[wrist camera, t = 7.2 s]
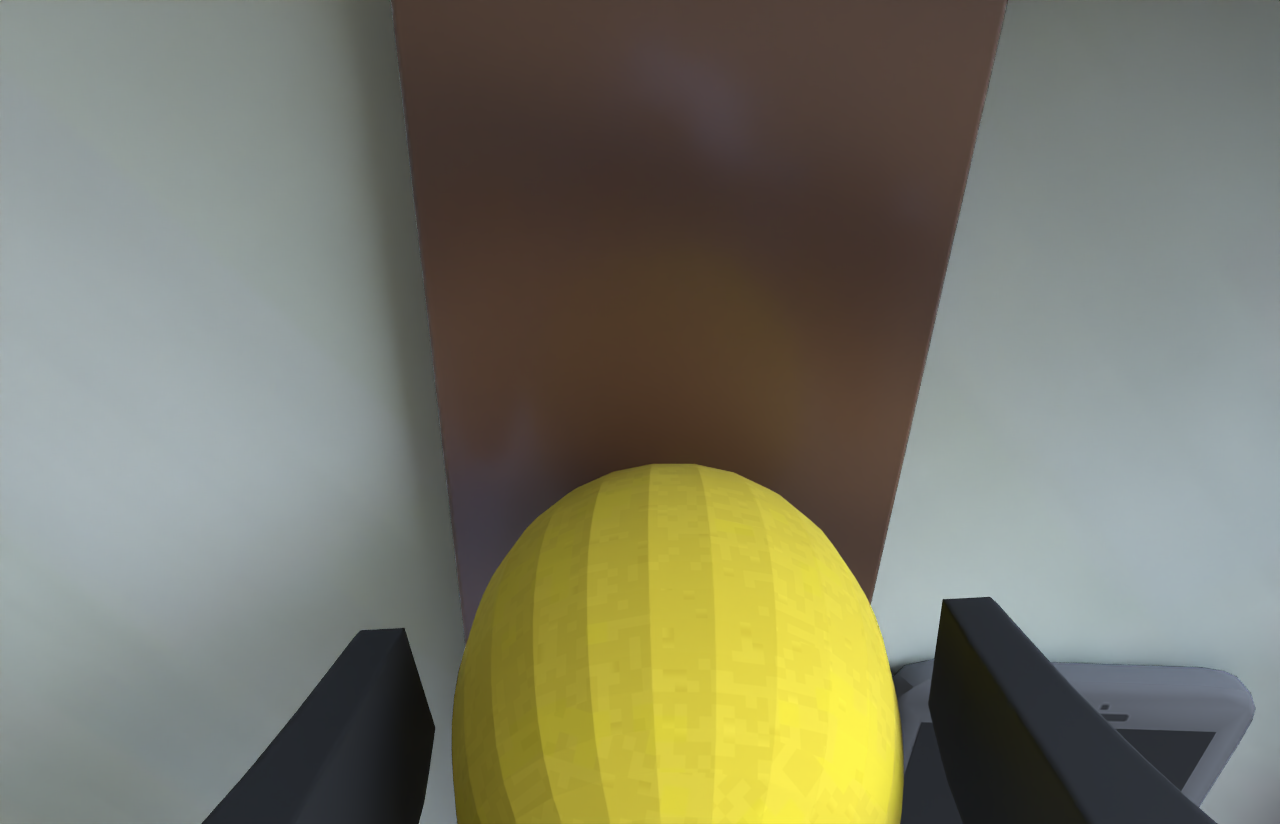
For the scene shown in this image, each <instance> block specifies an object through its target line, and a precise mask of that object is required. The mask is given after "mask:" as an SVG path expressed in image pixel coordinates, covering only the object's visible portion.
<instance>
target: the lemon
mask: <svg viewBox="0 0 1280 824" xmlns="http://www.w3.org/2000/svg"><path fill="white" fill-rule="evenodd" d="M452 765H453V782H454V793H455V805H456V816H457V824H900V821H901V814H902V800H903V786H904V754H903V740H902V726H901V720H900V713H899V706H898V700H897V695H896V691H895V687H894V683H893V678H892V674H891V670H890V666H889V662H888V658H887V654H886V649H885V645H884V641H883V637H882V635H881V632H880V629H879V626H878V623H877V620H876V617H875V615H874V612H873V610H872V608H871V606H870V604H869V602H868V599H867V597H866V595H865V594H864V592H863V590H862V588H861V587H860V585H859V583H858V582H857V580H856V578H855V577H854V575H853V574H852V572H851V571H850V569H849V568H848V566H847V565H846V563H845V562H844V560H843V559H842V557H841V556H840V554H839V553H838V552H837V550H836V549H835V547H834V546H833V544H832V543H831V542H830V540H829V539H828V538H827V536H826V535H825V534H824V533H823V531H822V530H821V529H820V528H818V527H817V526H816V525H815V524H814V523H813V522H812V521H811V520H810V519H808V518H807V517H806V516H805V515H804V514H802V513H801V512H800V511H799V510H797V509H796V508H795V507H794V506H793V505H791V504H790V503H789V502H788V501H786V500H785V499H784V498H783V497H782V496H780V495H779V494H777V493H775V492H773V491H771V490H770V489H768V488H766V487H763V486H761V485H759V484H757V483H755V482H753V481H751V480H749V479H746V478H744V477H742V476H740V475H738V474H736V473H734V472H729V471H725V470H720V469H715V468H711V467H706V466H702V465H697V464H649V465H644V466H639V467H634V468H629V469H624V470H619V471H614V472H611V473H609V474H607V475H605V476H602V477H600V478H598V479H596V480H593V481H591V482H589V483H587V484H584V485H582V486H580V487H578V488H576V489H574V490H573V491H571V492H570V493H568V494H567V495H565V496H564V497H563V498H562V499H560V500H559V501H558V502H556V503H555V504H554V505H553V506H551V507H550V508H549V509H547V510H546V511H545V512H544V513H542V514H541V515H540V516H538V517H537V518H536V519H535V520H534V521H533V522H532V523H531V524H530V525H529V526H528V527H527V528H526V530H525V531H524V532H523V534H522V535H521V536H520V538H519V539H518V540H517V542H516V543H515V545H514V546H513V547H512V549H511V550H510V551H509V553H508V554H507V555H506V557H505V558H504V559H503V561H502V562H501V564H500V565H499V567H498V568H497V570H496V571H495V573H494V574H493V576H492V578H491V580H490V582H489V584H488V586H487V588H486V590H485V592H484V594H483V596H482V599H481V601H480V604H479V607H478V609H477V612H476V615H475V618H474V621H473V624H472V627H471V631H470V634H469V637H468V640H467V643H466V647H465V650H464V653H463V657H462V661H461V665H460V668H459V672H458V677H457V683H456V689H455V695H454V704H453V716H452Z"/></svg>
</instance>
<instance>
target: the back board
mask: <svg viewBox="0 0 1280 824" xmlns="http://www.w3.org/2000/svg"><path fill="white" fill-rule="evenodd" d="M1007 3H1008V0H391V8H392V17H393V25H394V34H395V42H396V51H397V60H398V68H399V77H400V86H401V94H402V103H403V112H404V120H405V129H406V137H407V146H408V155H409V163H410V172H411V181H412V189H413V198H414V207H415V215H416V224H417V233H418V241H419V250H420V258H421V267H422V276H423V284H424V293H425V302H426V310H427V319H428V328H429V336H430V345H431V353H432V362H433V371H434V379H435V388H436V397H437V405H438V414H439V423H440V431H441V440H442V448H443V457H444V466H445V474H446V483H447V492H448V500H449V509H450V518H451V526H452V535H453V544H454V552H455V561H456V569H457V578H458V587H459V595H460V604H461V613H462V621H463V630H464V639H465V647H466V643H467V640H468V637H469V634H470V631H471V627H472V624H473V621H474V618H475V615H476V612H477V609H478V607H479V604H480V601H481V599H482V596H483V594H484V592H485V590H486V588H487V586H488V584H489V582H490V580H491V578H492V576H493V574H494V573H495V571H496V570H497V568H498V567H499V565H500V564H501V562H502V561H503V559H504V558H505V557H506V555H507V554H508V553H509V551H510V550H511V549H512V547H513V546H514V545H515V543H516V542H517V540H518V539H519V538H520V536H521V535H522V534H523V532H524V531H525V530H526V528H527V527H528V526H529V525H530V524H531V523H532V522H533V521H534V520H535V519H536V518H537V517H538V516H540V515H541V514H542V513H544V512H545V511H546V510H547V509H549V508H550V507H551V506H553V505H554V504H555V503H556V502H558V501H559V500H560V499H562V498H563V497H564V496H565V495H567V494H568V493H570V492H571V491H573V490H574V489H576V488H578V487H580V486H582V485H584V484H587V483H589V482H591V481H593V480H596V479H598V478H600V477H602V476H605V475H607V474H609V473H611V472H614V471H619V470H624V469H629V468H634V467H639V466H644V465H649V464H697V465H702V466H706V467H711V468H715V469H720V470H725V471H729V472H734V473H736V474H738V475H740V476H742V477H744V478H746V479H749V480H751V481H753V482H755V483H757V484H759V485H761V486H763V487H766V488H768V489H770V490H771V491H773V492H775V493H777V494H779V495H780V496H782V497H783V498H784V499H785V500H786V501H788V502H789V503H790V504H791V505H793V506H794V507H795V508H796V509H797V510H799V511H800V512H801V513H802V514H804V515H805V516H806V517H807V518H808V519H810V520H811V521H812V522H813V523H814V524H815V525H816V526H817V527H818V528H820V529H821V530H822V531H823V533H824V534H825V535H826V536H827V538H828V539H829V540H830V542H831V543H832V544H833V546H834V547H835V549H836V550H837V552H838V553H839V554H840V556H841V557H842V559H843V560H844V562H845V563H846V565H847V566H848V568H849V569H850V571H851V572H852V574H853V575H854V577H855V578H856V580H857V582H858V583H859V585H860V587H861V588H862V590H863V592H864V594H865V595H866V597H867V599H868V602H869V604H870V605H871V601H872V596H873V592H874V588H875V583H876V579H877V574H878V570H879V566H880V561H881V557H882V552H883V548H884V544H885V539H886V535H887V530H888V526H889V522H890V517H891V513H892V508H893V504H894V500H895V495H896V491H897V486H898V482H899V478H900V473H901V469H902V464H903V460H904V456H905V451H906V447H907V442H908V438H909V434H910V429H911V425H912V420H913V416H914V412H915V407H916V403H917V398H918V394H919V390H920V385H921V381H922V376H923V372H924V368H925V363H926V359H927V354H928V350H929V346H930V341H931V337H932V332H933V328H934V324H935V319H936V315H937V310H938V306H939V302H940V297H941V293H942V289H943V284H944V280H945V275H946V271H947V267H948V262H949V258H950V253H951V249H952V245H953V240H954V236H955V231H956V227H957V223H958V218H959V214H960V209H961V205H962V201H963V196H964V192H965V187H966V183H967V179H968V174H969V170H970V165H971V161H972V157H973V152H974V148H975V143H976V139H977V135H978V130H979V126H980V121H981V117H982V113H983V108H984V104H985V99H986V95H987V91H988V86H989V82H990V77H991V73H992V69H993V64H994V60H995V55H996V51H997V47H998V42H999V38H1000V33H1001V29H1002V25H1003V20H1004V16H1005V11H1006V7H1007Z"/></svg>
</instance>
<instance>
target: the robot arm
mask: <svg viewBox="0 0 1280 824" xmlns="http://www.w3.org/2000/svg"><path fill="white" fill-rule="evenodd" d="M928 706H929V711H930V715H931V719H932V723H933V727H934V731H935V735H936V740H937V744H938V748H939V751H940V755H941V759H942V763H943V767H944V771H945V774H946V778H947V781H948V784H949V787H950V790H951V792H952V795H953V798H954V801H955V803H956V806H957V809H958V811H959V814H960V817H961V819H962V822H963V824H1217V823H1216V822H1215V821H1214V820H1212V819H1211V818H1210V817H1209V816H1208V815H1207V814H1206V813H1204V812H1203V811H1202V810H1201V809H1200V808H1199V807H1198V806H1196V805H1195V804H1194V803H1193V802H1192V801H1191V800H1190V799H1189V798H1187V797H1186V796H1185V795H1184V794H1183V793H1182V792H1181V791H1180V790H1179V789H1178V788H1177V787H1175V786H1174V785H1173V784H1172V783H1171V782H1170V781H1169V780H1168V779H1167V778H1166V777H1165V776H1164V775H1162V774H1161V773H1160V772H1159V771H1158V770H1157V769H1156V768H1155V767H1154V766H1153V765H1152V764H1151V763H1149V762H1148V761H1147V760H1146V759H1145V758H1144V757H1143V756H1142V755H1141V754H1140V753H1139V752H1138V751H1137V750H1136V749H1135V748H1134V747H1133V746H1132V745H1131V744H1130V743H1129V742H1128V741H1127V740H1126V739H1125V738H1124V737H1123V736H1122V735H1121V734H1120V733H1119V732H1118V731H1117V730H1116V729H1115V728H1114V727H1113V726H1112V725H1111V724H1110V723H1109V722H1108V721H1107V720H1106V719H1105V718H1104V717H1103V716H1102V715H1101V714H1100V713H1099V712H1098V711H1097V710H1096V709H1095V708H1094V707H1093V706H1092V705H1091V704H1090V703H1089V702H1088V701H1087V700H1086V699H1085V698H1084V697H1083V696H1082V695H1081V694H1080V693H1079V692H1078V691H1077V690H1076V689H1075V688H1074V687H1073V686H1072V685H1071V684H1070V683H1069V682H1068V680H1067V679H1066V678H1065V677H1064V676H1063V675H1062V674H1061V673H1060V672H1059V671H1058V670H1057V669H1056V668H1055V667H1054V665H1053V664H1052V663H1051V662H1050V661H1049V660H1048V659H1047V658H1046V657H1045V656H1044V655H1043V654H1042V653H1041V651H1040V650H1039V649H1038V648H1037V647H1036V646H1035V645H1034V644H1033V643H1032V642H1031V640H1030V639H1029V638H1028V637H1027V636H1026V635H1025V634H1024V633H1023V632H1022V630H1021V629H1020V628H1019V627H1018V626H1017V625H1016V624H1015V623H1014V622H1013V620H1012V619H1011V618H1010V617H1009V616H1008V615H1007V614H1006V613H1005V612H1004V610H1003V609H1002V608H1001V607H1000V606H999V605H998V604H997V603H996V602H995V601H994V600H993V599H992V598H991V597H980V598H961V599H943V602H942V609H941V616H940V623H939V630H938V637H937V644H936V651H935V658H934V665H933V672H932V679H931V686H930V694H929V701H928ZM434 733H435V725H434V722H433V719H432V715H431V712H430V709H429V706H428V702H427V699H426V696H425V693H424V690H423V686H422V683H421V680H420V677H419V673H418V670H417V667H416V664H415V661H414V657H413V654H412V651H411V648H410V644H409V641H408V638H407V635H406V632H405V628H396V629H377V630H360V632H359V633H358V634H357V635H356V636H355V637H354V638H353V639H352V641H351V642H350V643H349V644H348V646H347V647H346V648H345V650H344V651H343V652H342V653H341V655H340V656H339V657H338V659H337V660H336V661H335V663H334V664H333V665H332V666H331V668H330V669H329V670H328V672H327V673H326V674H325V675H324V677H323V678H322V679H321V681H320V682H319V683H318V685H317V686H316V687H315V688H314V690H313V691H312V692H311V694H310V695H309V696H308V697H307V699H306V700H305V701H304V702H303V704H302V705H301V706H300V708H299V709H298V710H297V711H296V713H295V714H294V715H293V716H292V718H291V719H290V720H289V721H288V723H287V724H286V725H285V726H284V728H283V729H282V730H281V731H280V732H279V734H278V735H277V736H276V737H275V739H274V740H273V741H272V742H271V743H270V745H269V746H268V747H267V748H266V750H265V751H264V752H263V753H262V754H261V756H260V757H259V758H258V759H257V761H256V762H255V763H254V764H253V765H252V767H251V768H250V769H249V770H248V771H247V773H246V774H245V775H244V776H243V777H242V778H241V780H240V781H239V782H238V783H237V784H236V785H235V786H234V788H233V789H232V790H231V791H230V792H229V793H228V794H227V795H226V797H225V798H224V799H223V800H222V801H221V802H220V803H219V804H218V806H217V807H216V808H215V809H214V810H213V811H212V812H211V813H210V815H209V816H208V817H207V818H206V819H205V820H204V821H203V822H202V824H419V820H420V816H421V813H422V809H423V805H424V800H425V794H426V788H427V781H428V775H429V769H430V762H431V755H432V748H433V741H434Z"/></svg>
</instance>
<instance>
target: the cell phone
mask: <svg viewBox="0 0 1280 824" xmlns="http://www.w3.org/2000/svg"><path fill="white" fill-rule="evenodd" d="M1051 663H1052V664H1053V665H1054V667H1055V668H1056V669H1057V670H1058V671H1059V672H1060V673H1061V674H1062V675H1063V676H1064V677H1065V678H1066V679H1067V680H1068V682H1069V683H1070V684H1071V685H1072V686H1073V687H1074V688H1075V689H1076V690H1077V691H1078V692H1079V693H1080V694H1081V695H1082V696H1083V697H1084V698H1085V699H1086V700H1087V701H1088V702H1089V703H1090V704H1091V705H1092V706H1093V707H1094V708H1095V709H1096V710H1097V711H1098V712H1099V713H1100V714H1101V715H1102V716H1103V717H1104V718H1105V719H1106V720H1107V721H1108V722H1109V723H1110V724H1111V725H1112V726H1113V727H1114V728H1115V729H1116V730H1117V731H1118V732H1119V733H1120V734H1121V735H1122V736H1123V737H1124V738H1125V739H1126V740H1127V741H1128V742H1129V743H1130V744H1131V745H1132V746H1133V747H1134V748H1135V749H1136V750H1137V751H1138V752H1139V753H1140V754H1141V755H1142V756H1143V757H1144V758H1145V759H1146V760H1147V761H1148V762H1149V763H1151V764H1152V765H1153V766H1154V767H1155V768H1156V769H1157V770H1158V771H1159V772H1160V773H1161V774H1162V775H1164V776H1165V777H1166V778H1167V779H1168V780H1169V781H1170V782H1171V783H1172V784H1173V785H1174V786H1175V787H1177V788H1178V789H1179V790H1180V791H1181V792H1182V793H1183V794H1184V795H1185V796H1186V797H1187V798H1189V799H1190V800H1191V801H1192V802H1193V803H1194V804H1195V805H1196V806H1198V807H1200V805H1201V803H1202V802H1203V800H1204V799H1205V797H1206V796H1207V794H1208V792H1209V791H1210V789H1211V788H1212V786H1213V784H1214V783H1215V781H1216V780H1217V778H1218V776H1219V775H1220V773H1221V772H1222V770H1223V768H1224V767H1225V765H1226V764H1227V762H1228V761H1229V759H1230V757H1231V756H1232V754H1233V753H1234V751H1235V749H1236V748H1237V746H1238V744H1239V743H1240V741H1241V739H1242V737H1243V736H1244V734H1245V732H1246V730H1247V729H1248V727H1249V725H1250V723H1251V722H1252V719H1253V716H1254V712H1255V705H1254V702H1253V698H1252V695H1251V693H1250V691H1249V690H1248V689H1247V688H1246V687H1245V686H1244V684H1243V683H1242V682H1241V681H1240V680H1239V679H1238V677H1237V676H1234V675H1232V674H1230V673H1228V672H1225V671H1221V670H1215V669H1209V668H1203V667H1175V666H1146V665H1117V664H1088V663H1058V662H1051ZM933 665H934V659H933V660H928V661H923V662H918V663H913V664H909V665H904V666H903V667H902V668H901V669H900V670H899V671H898V672H897V673H896V674H895V675H894V676H893V677H892V678H893V683H894V687H895V691H896V695H897V700H898V706H899V713H900V720H901V726H902V740H903V754H904V786H903V800H902V814H901V821H900V824H963V822H962V819H961V817H960V814H959V811H958V809H957V806H956V803H955V801H954V798H953V795H952V792H951V790H950V787H949V784H948V781H947V778H946V774H945V771H944V767H943V763H942V759H941V755H940V751H939V748H938V744H937V740H936V735H935V731H934V727H933V723H932V719H931V715H930V711H929V706H928V701H929V694H930V686H931V679H932V672H933Z"/></svg>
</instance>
